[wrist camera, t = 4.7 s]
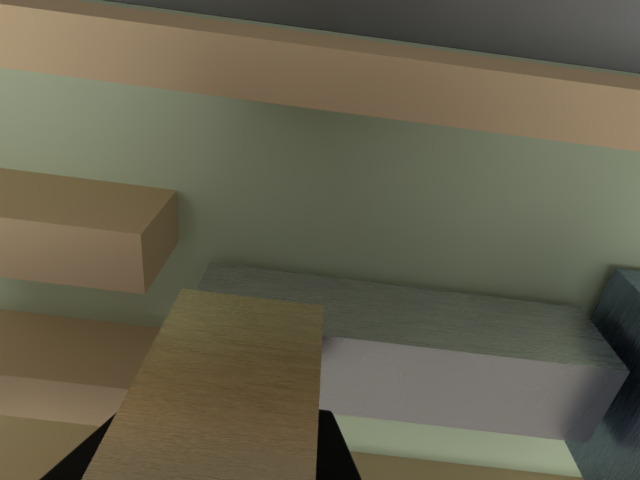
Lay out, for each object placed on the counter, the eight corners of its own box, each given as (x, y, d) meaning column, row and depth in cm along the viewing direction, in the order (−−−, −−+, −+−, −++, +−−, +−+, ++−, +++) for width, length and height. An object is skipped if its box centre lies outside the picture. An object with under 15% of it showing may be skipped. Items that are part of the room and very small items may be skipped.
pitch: (713, 486, 18) (792, 591, 15) (1, 406, 17) (-73, 498, 14) (1021, 125, 11) (1283, 176, 8) (-127, -32, 10) (-324, -40, 7)
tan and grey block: (585, 410, 14) (849, 861, 7) (208, 366, 14) (62, 788, 7) (661, 273, 12) (1191, 741, 4) (210, 217, 12) (-17, 617, 4)
